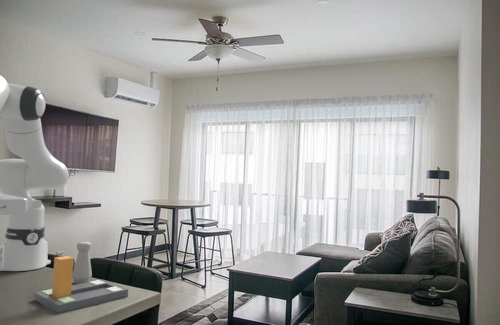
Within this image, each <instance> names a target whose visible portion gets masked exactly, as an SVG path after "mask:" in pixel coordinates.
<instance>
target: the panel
mask: <svg viewBox="0 0 500 325" xmlns="http://www.w3.org/2000/svg"><path fill="white" fill-rule="evenodd" d="M128 296H129V289H128V288H126V287H123V286H121V285H118V284H115V283H112V282H110V281H108V280H105V279H97V280H92V281H91V280H90V281H89V282H87V283H82V284H72V288H71V296H70V297H63V298H59V299H54V298H52V288H50V289H46V290H41V291H40V290H39V291H35V292H34V297H33V298H34V299H33V300H34V301H35V302H37V303H40V304H41V305H43V306H44V307H46V308H48V309H50V310H52V311H54V312H55V313H57V314H61V313H65V312H70V311H73V310H78V309H81V308H85V307H86V308H87V307H89V306H93V305H97V304H101V303H106V302H109V301H113V300H118V299H123V298H126V297H128Z"/></svg>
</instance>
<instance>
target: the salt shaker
mask: <svg viewBox="0 0 500 325" xmlns="http://www.w3.org/2000/svg"><path fill="white" fill-rule="evenodd" d="M91 249H92V243H91V242H90V241H80V242H77V243H76V250H78V252H77V255H76V260H75V264H74V266H73V273H72V281H73V282H74V285H76V284H82V283H87V282H91V278H92V277H93V273H92V265H91V258H90V250H91Z"/></svg>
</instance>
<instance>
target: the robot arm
mask: <svg viewBox="0 0 500 325" xmlns="http://www.w3.org/2000/svg"><path fill="white" fill-rule="evenodd" d="M45 110H46V97H45V94H43V92H42V91H41V90H40V89H39V88H36V87H32V86H25V85H21V84H15V83H9V82H8V81H7V79H5V77H3V76H2V75H1V74H0V120H2V122H3V123H2V124H3V130H4V136H5V140H6V146H7V148H8V150H9V151H10V152H11V153H12V154H13V155H15V156H17V157H19V158H4V159H0V192H1V193H0V215H1V216H2V215H5V216H6V215H8V226H7V229H6V231H5V235H4V238H5V239H4V240H3V241H2V242H1V243H0V272H3V271H4V272H5V271H6V272H21V271H22V272H23V271H33V270H37V269H42V268H44V267H46V266H47V265H50V264H52V263H51V262H52V260H51V259H48V241H46V240H45V238H44V237H45V233H46V231H45V229H46V227H45V226H44V225H45V211H46V210H45V206H44V204H43V202H42V200H41V199H36V198H33V197H31V195H30V191H29V190H35V191H37V190H38V191H41V190H42V191H50V190H51V191H52V190H57V189H58V190H59V189H62V188H64V186H66V184H67V183H68V181H69V177H70V176H69V175H70V173H69V169H68V167H67V166H66V165H65V164H64V163H63V162H61V160H58V159H57V158H55V157H54V155H53V154H52V153H51V152H50V151H49V149H48V147H47V146H46V142H45V139H44V134H43V127H42V122H41V121H42V120H41V119H42V118H41V117H43V116H44V114H45Z"/></svg>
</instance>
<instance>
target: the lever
mask: <svg viewBox="0 0 500 325" xmlns="http://www.w3.org/2000/svg"><path fill="white" fill-rule="evenodd" d="M73 270H74V257H72V256H69V255H64V256H55V257H54V258H53V272H52V273H53V274H52V288H51V289H52V298H54V299H59V298H63V297H70V296H71V288H72V285H73V278H72V274H73Z"/></svg>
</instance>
